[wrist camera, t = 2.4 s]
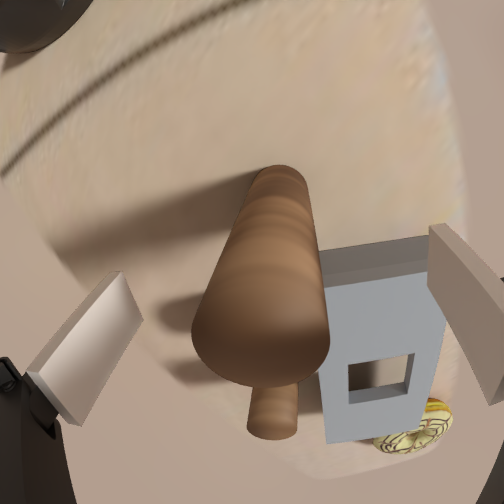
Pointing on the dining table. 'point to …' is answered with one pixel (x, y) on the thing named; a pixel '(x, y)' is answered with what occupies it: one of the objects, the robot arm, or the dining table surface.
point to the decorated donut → (419, 431)
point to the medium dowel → (273, 412)
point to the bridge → (378, 336)
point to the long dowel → (266, 290)
